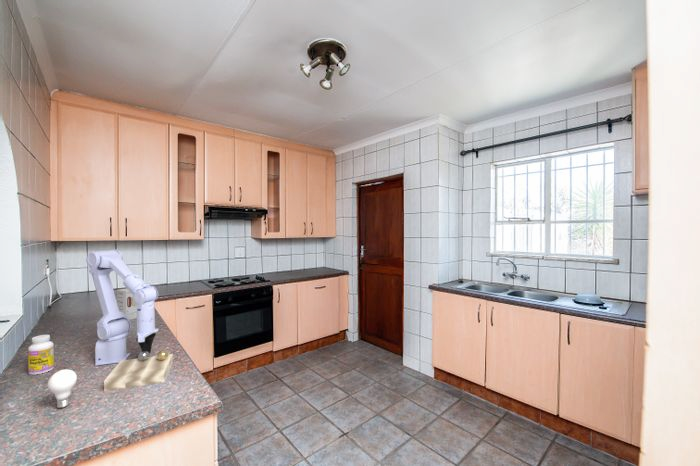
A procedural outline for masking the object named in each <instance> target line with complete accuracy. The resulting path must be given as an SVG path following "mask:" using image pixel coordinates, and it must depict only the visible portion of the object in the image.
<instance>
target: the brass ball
mask: <svg viewBox="0 0 700 466" xmlns="http://www.w3.org/2000/svg"><path fill="white" fill-rule="evenodd" d="M168 354H169V352H168V351H167V350H164V349H163V350H160V351H159V352H158V353H157V355H156V356H157V358H158V359H159V360H165V359H166V358H167V357H168Z"/></svg>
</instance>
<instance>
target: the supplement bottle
mask: <svg viewBox="0 0 700 466" xmlns="http://www.w3.org/2000/svg"><path fill="white" fill-rule="evenodd" d="M50 340H51V336H50V334H40V335H37V336H33V337H32V338H31V343H32V344H31V345H29V346H28V349H27V353H28V356H27V360H28V361H27V362H28V364H27V365H28V366H27V367H28V369H27V370H28V374H29V376H30V375H31V376H35V375H36V376H37V374H38V375H41V374H42V373H43V374H46V373H48V371H49V372H50V371H53V369H54V368H55V354H54V353H55V346H54V342H53V341H50ZM43 374H42V375H43Z"/></svg>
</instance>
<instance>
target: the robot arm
mask: <svg viewBox="0 0 700 466" xmlns="http://www.w3.org/2000/svg"><path fill="white" fill-rule="evenodd" d="M123 260H124V255H123V254H122V252H121V251H119V249H109V250H98V251H97V250H91V251H90V252H89V253H88V254H87V257H86V259H85V262H86V265H87V268H88V272H89V274H91V277H92V281H93V284H94V287H95V292H96V296H97V298H98V303H99V306H100V309H101V313H102V317H101V318H100V319H99V320H98V321H97V322H96V327H97V330H96V331H97V332H96V333H97V334H96V335H97V337H98V338H99V339H98V340H97V341H96V343H95V347H94V348H95V349H94V353H95V355H94V356H95V359H94V360H95V364H94V366H101V365H102V366H103V365H110V364H118V363H119V362H120V361H121V360H128V358H129V356H130V355H131V353H130V352H127V336H129V333H130V332H131V330H132V322H131V320H129V319H128V317H127V314H125V313H122V312H120V311H119V308H118V305H117V296H116V295H115V290H114V288H113V284H112V280H111V277H110V274H111V272H113V271H114V273H116V274H117V275H118V276H119V277H120V278H121V279H123V281H122V284H123V286H124V287H125V288H127V289H128V290H129V291H130V292H131V293H132V294H133V296H132V299H133V301H134V303H135V308H136V309H137V318H136V333H135V334H136V336H137V337H136V339H135V341H136V342H137V343H138V345H139V347H140V350H141V352H142V351H148V352H149V355H150V354H151V351H152V347H153V342H154V339H155V337H156V335H157V332H159V328H156V323H155V322H156V318H155V317H156V315H155V313H156V312H155V310H156V309H155V305H156V304H155V301H156V300H158V297H159V291H158V289H157V288H156V286H153V285H150V284H147V283H146V282H145V280H144V279H143V278H141V276H140V274H137V273H133V272H132V271H131V269H129V266H128V265H127V264H126V263H125V262H124V261H123Z"/></svg>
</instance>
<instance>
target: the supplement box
mask: <svg viewBox="0 0 700 466" xmlns="http://www.w3.org/2000/svg"><path fill="white" fill-rule="evenodd" d="M132 296H133V294H132V293H131V292H130V291H129V290H128V289H127V288H126V287H125V288H121V289H116V301H117V305H118V308H119V311H120V312H122V313H125V314H127V317H128V319H129V320H130V321H131V320H134V319H135V320H136V319H137V309H136V308H135V303H134V301H133V299H132Z"/></svg>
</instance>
